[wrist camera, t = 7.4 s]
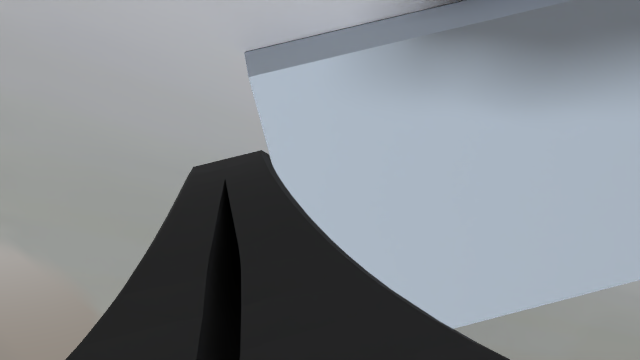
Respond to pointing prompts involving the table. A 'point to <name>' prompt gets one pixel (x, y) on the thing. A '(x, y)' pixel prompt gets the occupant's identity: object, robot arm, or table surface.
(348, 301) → the robot arm
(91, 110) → the table surface
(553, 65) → the light blue flat slab
